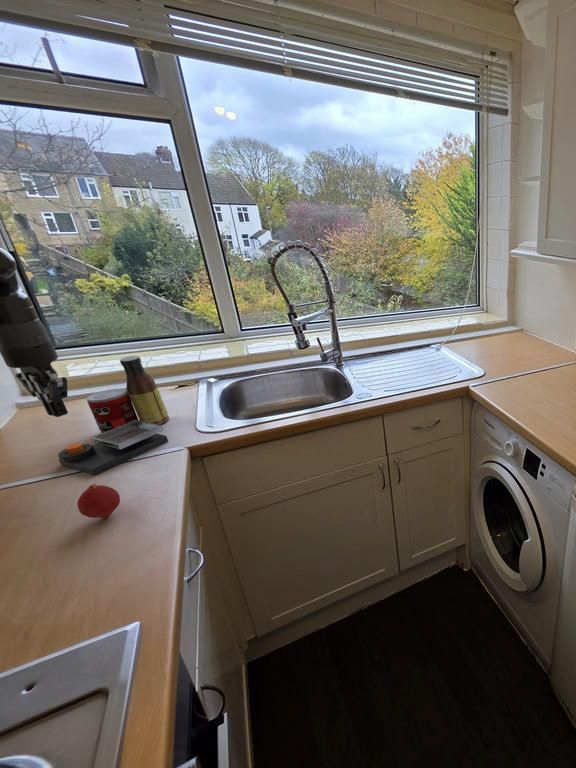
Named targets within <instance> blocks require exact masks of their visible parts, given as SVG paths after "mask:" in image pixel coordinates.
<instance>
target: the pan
mask: <svg viewBox="0 0 576 768" xmlns="http://www.w3.org/2000/svg"><path fill="white" fill-rule="evenodd" d="M163 431H165V428H164V426H163V424H160V425H158V424H153V423H149V422H145V421H140V420H139V419H138V420H133V421H131V422H128V423H126V424H123V425H121V426H118V427H116V428H113V429H111V430H108V431H106V432H103V433H101V432H100V433H98V434H96V435H93V436H91V437H90V438H89V439H90V441H91V444H92V443H93V444H100V445H104V446H108V447H111V448H115V449H119V450H120V449H123V448H125V447H127V446H130V445H132V444H134V443H136V442H139V441H141V440H143V439H145V438H148V437H150V436H152V435H155V434H160V433H161V432H163Z"/></svg>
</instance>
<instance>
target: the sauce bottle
mask: <svg viewBox="0 0 576 768" xmlns="http://www.w3.org/2000/svg"><path fill="white" fill-rule="evenodd" d="M140 357H141V356H139V355H129V356H126V357H122V358H120V359H119V362H120V365H121V366H122V367H123V369H124V372H125V376H126V388H125V389H126V390H127V392H128V395H129V397H130V399H131V402H132V404H133V407H134V409H135V412H136V415H137V417H138V420H140V421H145V422H149V423H153V424H158V425H163V424H165V423H167V422H169V419H170V417H169V413H168V411H167V407H166V405H165V403H164V400H163V398H162V395H161V393H160V390H159V388H158V386H157V384H156V382H155V380H154V378H153V377H152V376H151V375H150V374H148V373H147V372H146V371H145V369H144V367H143V364H142V359H141V358H140Z"/></svg>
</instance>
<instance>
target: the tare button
mask: <svg viewBox="0 0 576 768" xmlns="http://www.w3.org/2000/svg"><path fill="white" fill-rule="evenodd" d="M82 444H83V443H81V442H75V443H71V444H68V445H66V446H65V448H64V449H66V451H67V453H68V454H74V453H78V452H80V451H83V450H84V447H83V445H82Z"/></svg>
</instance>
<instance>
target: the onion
mask: <svg viewBox="0 0 576 768" xmlns="http://www.w3.org/2000/svg"><path fill="white" fill-rule="evenodd" d="M120 503H121V497H120V494H119V492H118V491H117V490H116V489H114V488H113V487H111V486H108V485H103V484H101V485H100V484H99V485H98V484H95V483H91V484H89V485H88V487H87V488H86V489H85V490H84V491H83V492H82V493H81V495H80V496H79V497H78V500H77V509H78V511H79V513H80V514H81V515H82V516H85V517H88V518H91V519H92V518H93V519H107V518H109V517H110V516H111V515H112V514H113V513H114V512H115V510H116V509H117V508H118V507H119V505H120Z"/></svg>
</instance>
